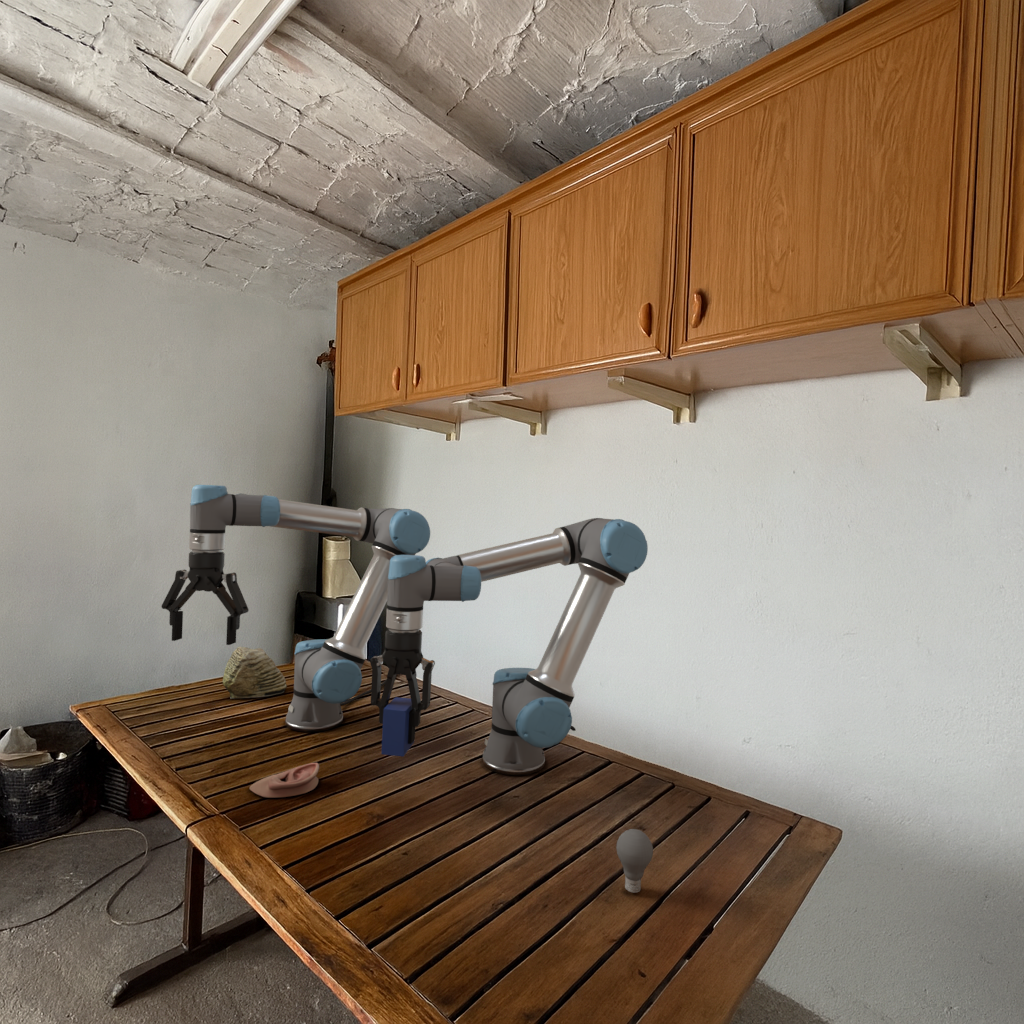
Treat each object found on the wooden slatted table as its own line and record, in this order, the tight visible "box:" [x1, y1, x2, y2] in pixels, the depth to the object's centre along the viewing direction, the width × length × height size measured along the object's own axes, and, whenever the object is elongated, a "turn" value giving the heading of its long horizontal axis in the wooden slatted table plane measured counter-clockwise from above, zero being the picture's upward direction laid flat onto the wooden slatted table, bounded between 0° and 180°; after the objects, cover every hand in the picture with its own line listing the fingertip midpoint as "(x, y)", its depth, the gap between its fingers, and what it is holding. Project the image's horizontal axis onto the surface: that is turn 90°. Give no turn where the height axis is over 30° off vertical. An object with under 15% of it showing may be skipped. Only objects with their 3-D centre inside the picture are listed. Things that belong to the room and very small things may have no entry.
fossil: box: [222, 646, 288, 699], centre depth 198 cm, size 9×18×15 cm, turn 132°
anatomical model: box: [249, 762, 320, 799], centre depth 137 cm, size 13×4×12 cm
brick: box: [380, 696, 415, 758], centre depth 132 cm, size 5×8×9 cm, turn 173°
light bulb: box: [615, 828, 654, 894], centre depth 106 cm, size 6×6×10 cm
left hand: (203, 641), depth 148 cm, fingers open, 13 cm apart
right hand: (398, 740), depth 132 cm, fingers closed on brick, 5 cm apart
